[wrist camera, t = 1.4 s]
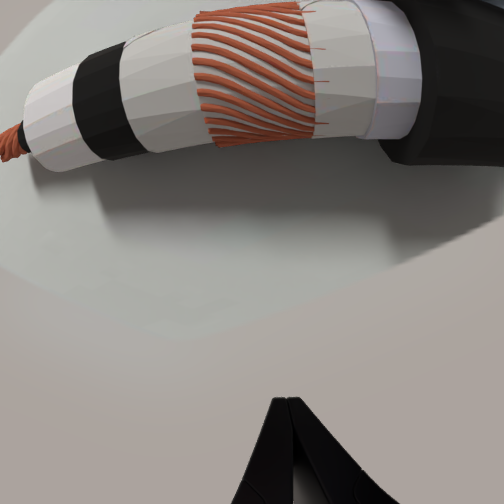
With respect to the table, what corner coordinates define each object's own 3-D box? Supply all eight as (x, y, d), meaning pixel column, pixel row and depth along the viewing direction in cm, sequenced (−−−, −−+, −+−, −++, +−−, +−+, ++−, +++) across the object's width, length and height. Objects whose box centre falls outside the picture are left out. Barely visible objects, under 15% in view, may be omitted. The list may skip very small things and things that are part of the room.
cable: (57, 115, 21) (-20, 58, 11) (466, 70, 17) (518, -10, 7) (41, 231, 20) (-66, 202, 10) (508, 188, 16) (603, 134, 6)
